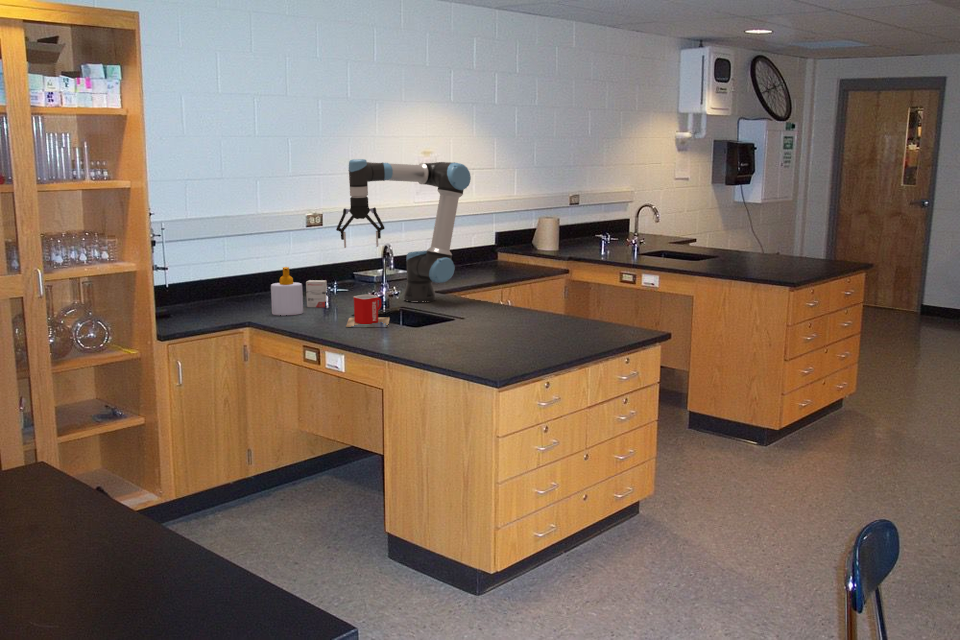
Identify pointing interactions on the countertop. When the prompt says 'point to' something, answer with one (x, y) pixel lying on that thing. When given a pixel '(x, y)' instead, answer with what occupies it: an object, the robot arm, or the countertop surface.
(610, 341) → the countertop surface
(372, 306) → the mug
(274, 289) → the soap bottle
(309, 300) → the ink box
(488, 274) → the countertop surface
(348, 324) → the coaster board
